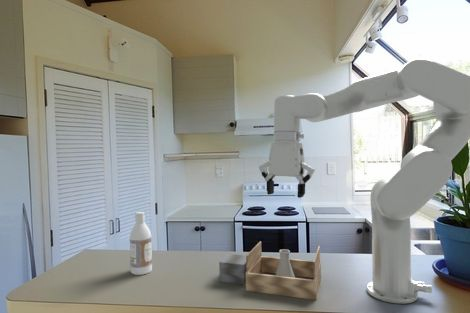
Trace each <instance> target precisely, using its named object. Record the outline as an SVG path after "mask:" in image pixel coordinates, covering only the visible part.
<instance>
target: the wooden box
mask: <svg viewBox="0 0 470 313" xmlns="http://www.w3.org/2000/svg"><path fill="white" fill-rule="evenodd" d="M262 253H263V252H262V241H261V240H260V241H259V242H257V244H255V246H254V247H253V248H252V249H251V250H250V251H249V252H248V253H247V255H245V256H246V283H245V291H247V292H254V293H261V294H262V293H263V294H268V295H269V294H270V295H278V296H284V297H293V298H299V299H306V300H313V301H314V300H315V301H317V298H318V293H319V288H320V285H321V280H322V262H321V246H320V245H318V247H317V250H316V252H315V256H314V258H313V260H308V259H307V260H306V259H296V258H289V259H290V264H291V267H292V270H293V273H294V276H295V278H293V277H284V276H275V275H276V272H277V269H278V266H279V262H280V257H276V256H266V255H265V256H264V255H262ZM265 273H268V274H265ZM301 277H304V278H301ZM308 278H313V279H308Z"/></svg>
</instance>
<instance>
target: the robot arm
mask: <svg viewBox="0 0 470 313" xmlns="http://www.w3.org/2000/svg"><path fill="white" fill-rule="evenodd" d="M418 96H420V97H422V98H425V99H426V100H429V101H430V102H431V101H432V103H433V109H434V113H435V115H436V116H435V123H434V125H433V127H432V128H431V130H429V131H428V133H427V134H426V135H425V136H424V137H423V138H422V139H421V140H420V141H419V142H418V143H417V144H416V145H415V146H414V147H413V148H412V149H411V150H410V151H408V153H407V154H405V156H404V157H403V158H402V160H401V162H400V169H399V170H398V171H397V172H396V173H395V174H394V175H393V176H392V177H387V178H386V177H385V178H382V179H379V180H378V181H377V182H376V183H375V184H374V185H373V186H372V188H371V191H370V209H371V210H370V211H371V232H372V233H371V255H372V256H371V257H372V259H371V260H372V262H371V263H372V264H371V265H372V266H371V267H372V280H371V281H369V282H368V283H367V285H366V292H367V293H368V294H369V295H370V296H371V297H373V298H376V299H378V300H380V301H382V302H387V303H392V304H398V305H401V304H403V305H406V304H412V303H414V302H416V301H417V300H418V298H419V292H422V293H428V294H432V293H433V290H432V289H433V287H432V285H431V284H425V282H424V281H415V280H414V279H413V278H412V259H411V258H412V255H411V254H412V252H411V251H412V250H411V248H412V247H411V245H412V244H411V243H412V242H411V240H412V237H411V235H412V233H411V232H412V231H411V229H412V228H411V227H412V226H411V217H412V216H414V215H415V214H417V212H419V211H420V209H422V208H423V207H424V206H425V205H426V204H427V203H428V202H429V201H431V200H432V198H433V197H434V196H435V195H436V194H438V193H439V192H440V191H441V190H442V189H443V188H444V187H445V185H447V183H448V182H449V180H450V179H451V176H452V173H453V164H452V161H453V159H455V157H456V156H457V155H458V154H459V153H460V152H461V151H462V149H464V147H465V146H466V145H467V143H469V140H470V75H468V74H466V73H463V72H462V71H459V70H455V69H453V68H451V67H448V66H447V65H444V64H441V63H440V62H437V61H434V60H431V59H428V58H421V57H419V58H413V59H411V60H409V61H408V62H406V63H405V64H404V65H403V66H402V67H400V68H395V69H392V70H389V71H386V72H381V73H377V74H374V75H370V76H368V77H367V76H366V77H364V78H361V79H358V80H356V81H355V82H353V83H352V84H350V85H348V86H346V87H345V88H343V89H340V90H338V91H335V92H332V93H329V94H325V95H321V94H319V93H316V92H315V93H314V92H313V93H305V94H300V95H290V94H289V95H279V96H276V97H275V99H274V105H273V142H271V144H270V149H269V155H268V161H266V162H265V163H263V164H261V165H259V166H258V168H259V170H260V173H261V176H262V177H263V178H264V180H265V182H266V194H267V195H269V196H270V195H273V194H274V193H275V181H274V180H273V179H274V178H275V177H290V178H291V177H292V178H294V177H295V179H296V180H297V181H298V184H297V198H300V199H301V198H303V197H304V195H305V194H306V183H307V182H308V181H309V180H311V179H312V177H313V174H314V172H315V171H316V170H315V168H314V167H312V166H310V165H309V164H307V163H305V154H304V152H305V151H304V147H303V142H300V141H301V140H302V139H304V138H305V134H304V133H301V132H300V128H301V126H300V125H301V124H300V123H301V122H300V121H301V120H300V119H302V120H307V121H308V122H310V123H319V122H323V121H326V120H331V119H335V118H340V117H342V116H346V115H350V114H354V113H358V112H363V111H366V110H369V109H373V108H377V107H378V108H379V107H381V106H385V105H389V104H393V103H398V102H401V101H405V100H409V99H413V98H416V97H418ZM267 168H268V169H267ZM266 169H267V170H268V172H267V170H266ZM305 170H306V171H307V173H306V175H305V176H304V174H305Z"/></svg>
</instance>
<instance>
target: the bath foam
mask: <svg viewBox="0 0 470 313" xmlns="http://www.w3.org/2000/svg"><path fill="white" fill-rule="evenodd" d="M134 217H135V224H134V226H133V227H132V229H131V231H130V233H129V234H130V235H129V252H130V254H129V255H130V261H129V262H130V273H131V274H132V275H134V276H142V275H146V274H149V273H151V272H152V270H153V252H152V250H153V248H152V246H153V245H152V232H151V230H150V229H149V228H150V227H149V226H148V225H147V223H146V222H145V219H146V218H145V211H137V212H135V216H134Z"/></svg>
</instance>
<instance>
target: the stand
mask: <svg viewBox="0 0 470 313" xmlns="http://www.w3.org/2000/svg"><path fill="white" fill-rule="evenodd" d="M218 263H219V268H218V269H219V282H222V283H228V284H237V285H243V286H244V285H245V286H246V255H244V254H243V255H242V254H233V253H232V254H231V253H228V254H227V255H225V257H223V258H222V259H221V260H220V261H219V262H218Z"/></svg>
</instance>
